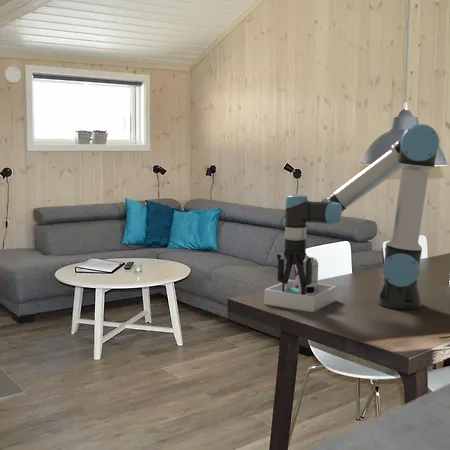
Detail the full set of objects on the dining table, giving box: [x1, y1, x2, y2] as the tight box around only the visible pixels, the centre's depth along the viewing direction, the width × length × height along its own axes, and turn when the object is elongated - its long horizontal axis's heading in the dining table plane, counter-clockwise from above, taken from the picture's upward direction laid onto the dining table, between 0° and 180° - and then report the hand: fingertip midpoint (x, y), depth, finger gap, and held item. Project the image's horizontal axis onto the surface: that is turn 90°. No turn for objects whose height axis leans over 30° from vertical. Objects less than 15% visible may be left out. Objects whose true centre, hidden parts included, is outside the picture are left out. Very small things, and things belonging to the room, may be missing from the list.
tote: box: [263, 279, 338, 313], centre depth 232 cm, size 20×20×6 cm
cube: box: [285, 287, 299, 294], centre depth 228 cm, size 5×5×5 cm
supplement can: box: [295, 257, 319, 296], centre depth 234 cm, size 8×8×15 cm
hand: (293, 302), depth 228 cm, fingers closed on cube, 5 cm apart
